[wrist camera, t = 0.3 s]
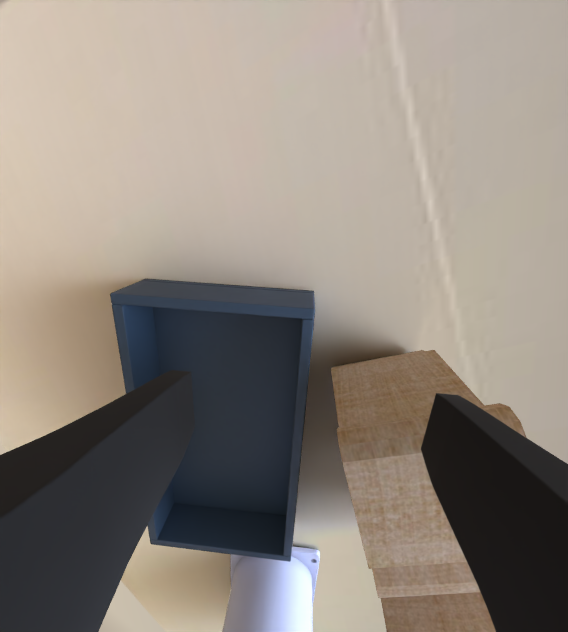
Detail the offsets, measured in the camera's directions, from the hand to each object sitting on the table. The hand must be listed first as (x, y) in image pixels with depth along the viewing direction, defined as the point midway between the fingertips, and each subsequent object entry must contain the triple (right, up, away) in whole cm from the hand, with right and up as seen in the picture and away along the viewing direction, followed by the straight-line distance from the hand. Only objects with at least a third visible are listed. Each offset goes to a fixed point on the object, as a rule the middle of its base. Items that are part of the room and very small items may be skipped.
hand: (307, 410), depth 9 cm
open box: (-5, -4, +13) cm, 14 cm away
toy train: (+7, -5, +12) cm, 15 cm away
